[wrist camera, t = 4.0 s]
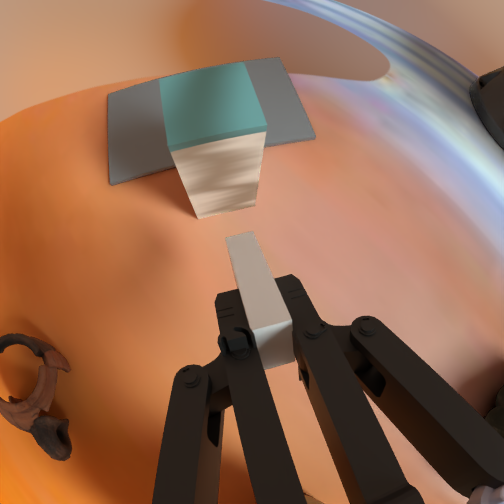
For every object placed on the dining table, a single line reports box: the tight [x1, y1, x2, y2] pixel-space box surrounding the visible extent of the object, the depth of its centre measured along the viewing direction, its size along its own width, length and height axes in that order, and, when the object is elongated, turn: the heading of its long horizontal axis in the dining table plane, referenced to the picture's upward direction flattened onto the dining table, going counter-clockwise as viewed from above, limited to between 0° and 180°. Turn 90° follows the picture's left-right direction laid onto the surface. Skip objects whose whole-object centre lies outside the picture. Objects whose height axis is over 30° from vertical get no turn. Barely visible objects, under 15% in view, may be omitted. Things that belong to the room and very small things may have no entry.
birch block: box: [159, 62, 267, 219], centre depth 20 cm, size 5×5×12 cm
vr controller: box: [0, 333, 72, 461], centre depth 19 cm, size 12×10×8 cm
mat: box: [108, 57, 316, 186], centre depth 27 cm, size 20×12×1 cm, turn 104°
